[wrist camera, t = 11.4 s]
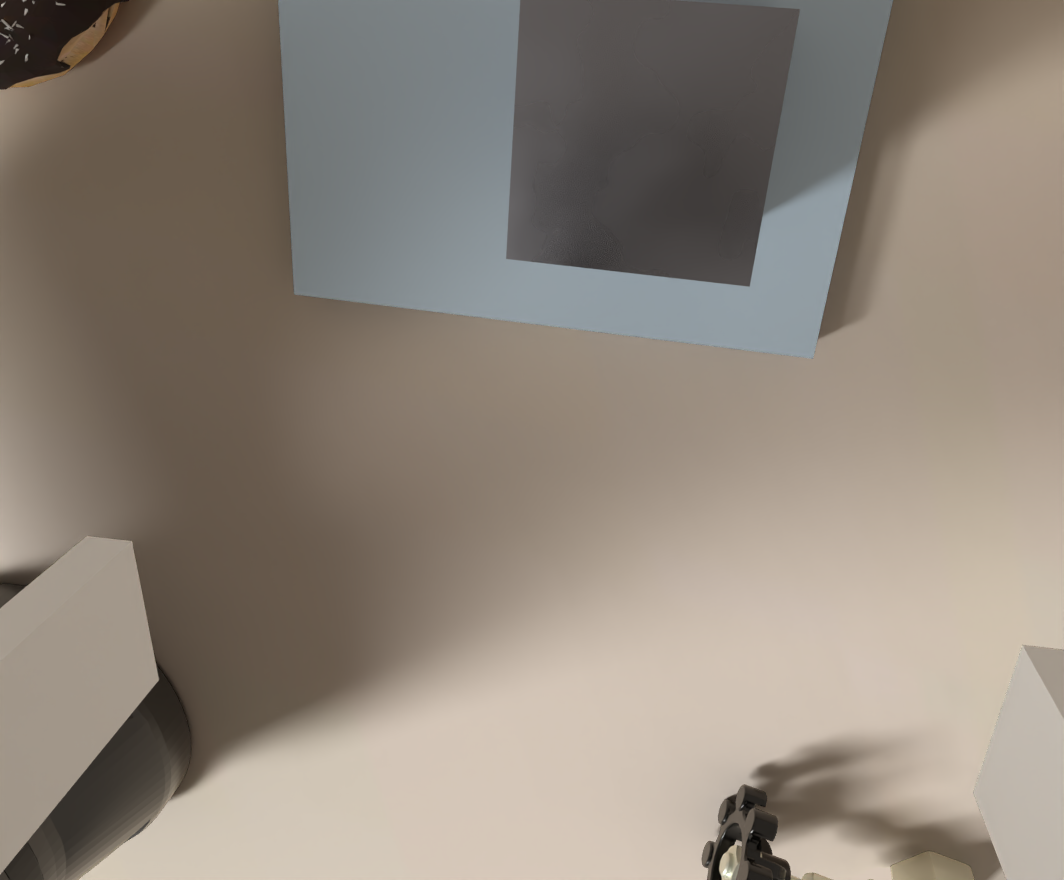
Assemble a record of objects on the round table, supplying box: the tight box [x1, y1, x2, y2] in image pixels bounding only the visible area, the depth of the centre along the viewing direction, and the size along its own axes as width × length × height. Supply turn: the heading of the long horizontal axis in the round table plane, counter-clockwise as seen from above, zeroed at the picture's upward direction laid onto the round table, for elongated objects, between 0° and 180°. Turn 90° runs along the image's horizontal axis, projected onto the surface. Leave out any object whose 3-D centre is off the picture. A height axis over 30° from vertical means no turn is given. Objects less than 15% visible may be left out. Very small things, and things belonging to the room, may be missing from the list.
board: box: [278, 0, 893, 359], centre depth 25 cm, size 18×14×6 cm
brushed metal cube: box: [506, 0, 800, 287], centre depth 23 cm, size 6×6×7 cm
